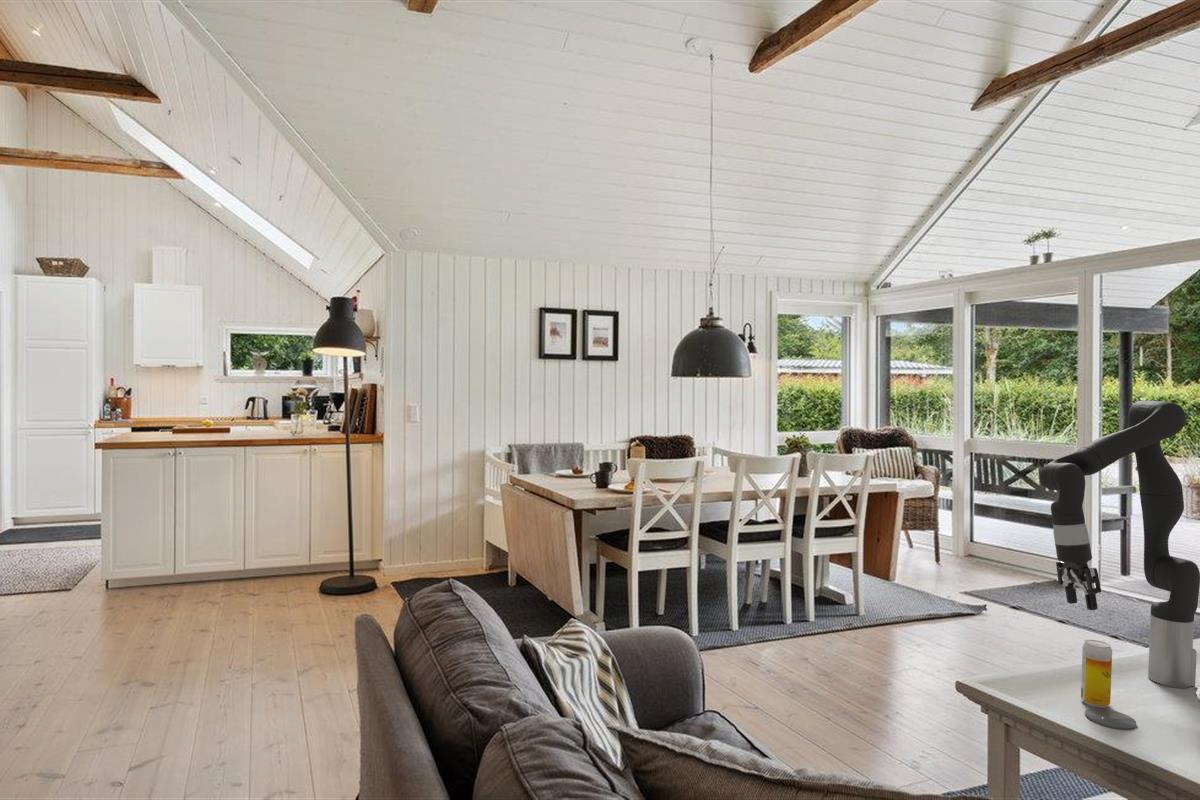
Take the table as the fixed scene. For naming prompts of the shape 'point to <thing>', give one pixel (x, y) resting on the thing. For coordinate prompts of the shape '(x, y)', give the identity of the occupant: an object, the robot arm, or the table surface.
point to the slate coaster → (1110, 718)
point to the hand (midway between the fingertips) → (1082, 606)
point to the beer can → (1096, 673)
